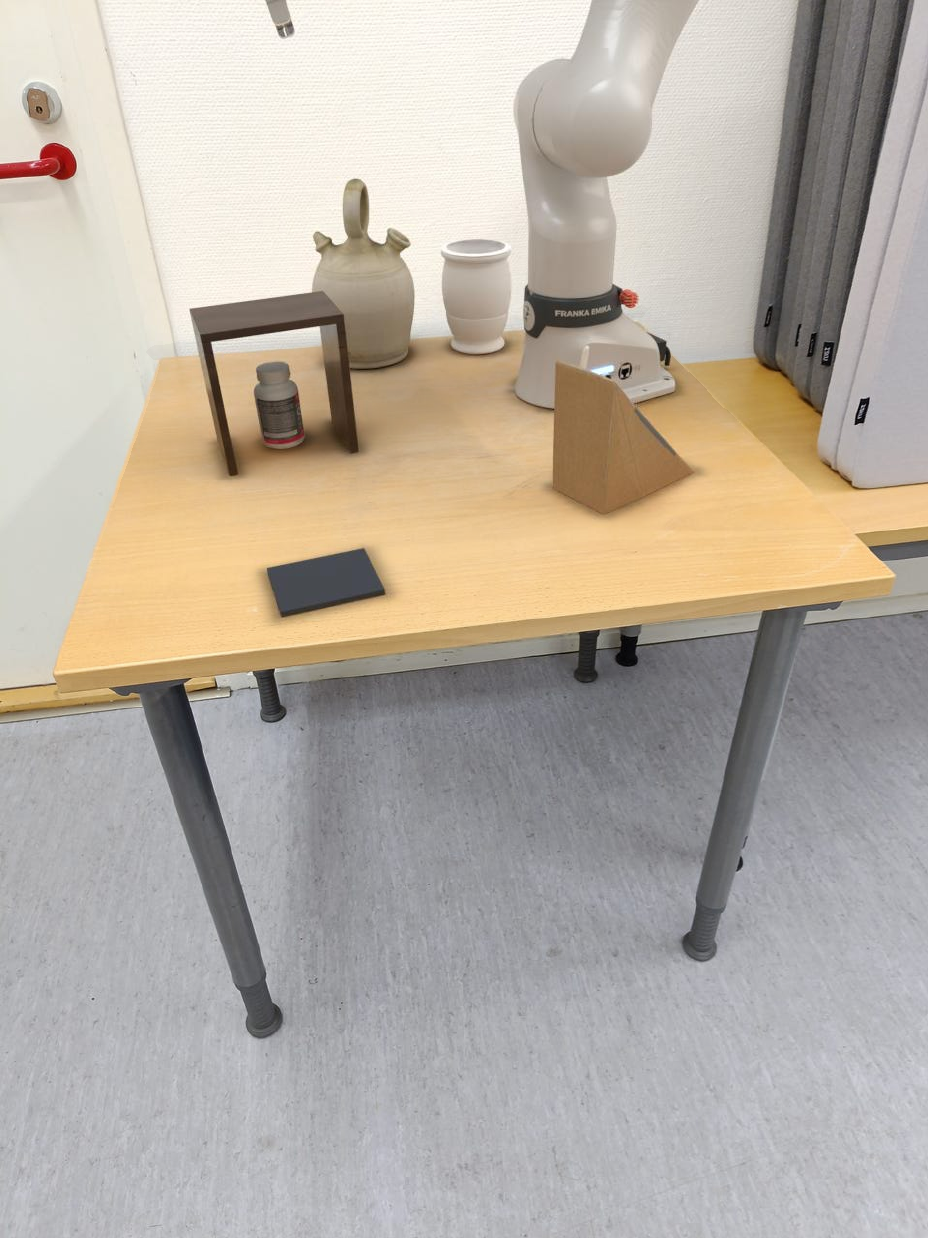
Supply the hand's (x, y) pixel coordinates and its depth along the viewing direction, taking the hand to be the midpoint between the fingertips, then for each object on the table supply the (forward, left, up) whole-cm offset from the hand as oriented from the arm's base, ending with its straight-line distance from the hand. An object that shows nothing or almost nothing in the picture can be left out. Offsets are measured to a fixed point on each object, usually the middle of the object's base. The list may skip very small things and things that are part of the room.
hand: (285, 30), depth 88 cm
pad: (+9, +35, -43) cm, 57 cm away
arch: (+7, +3, -43) cm, 44 cm away
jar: (-28, -22, -43) cm, 56 cm away
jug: (-11, -25, -43) cm, 51 cm away
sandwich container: (-28, +27, -43) cm, 59 cm away
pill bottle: (+7, +1, -43) cm, 44 cm away
